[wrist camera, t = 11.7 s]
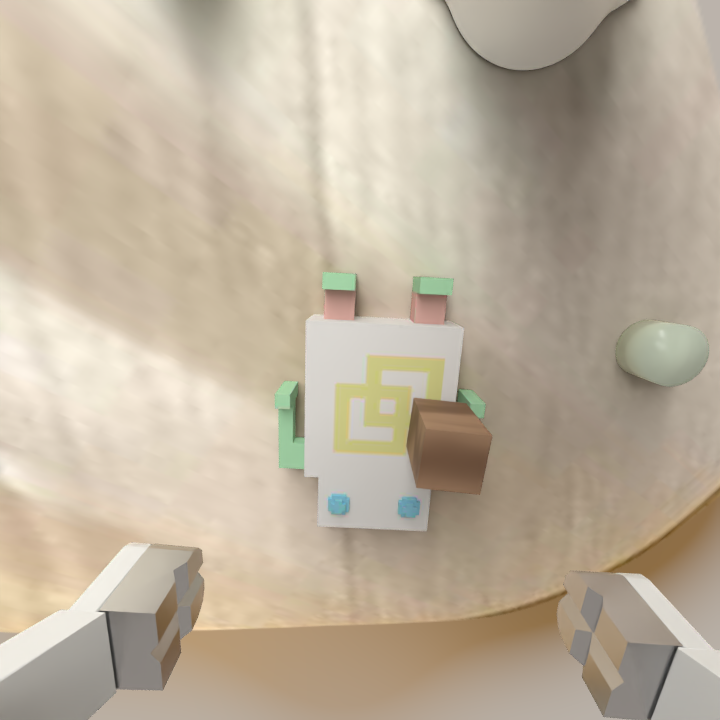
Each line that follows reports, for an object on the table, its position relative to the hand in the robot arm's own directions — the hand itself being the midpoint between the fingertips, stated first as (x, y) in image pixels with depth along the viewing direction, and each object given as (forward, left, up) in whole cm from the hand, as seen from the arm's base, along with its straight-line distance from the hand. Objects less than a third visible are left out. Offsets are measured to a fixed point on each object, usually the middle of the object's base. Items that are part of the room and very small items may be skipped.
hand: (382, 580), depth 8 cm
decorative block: (+6, +2, -31) cm, 32 cm away
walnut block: (+7, +7, -25) cm, 27 cm away
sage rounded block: (-1, +29, -31) cm, 42 cm away
